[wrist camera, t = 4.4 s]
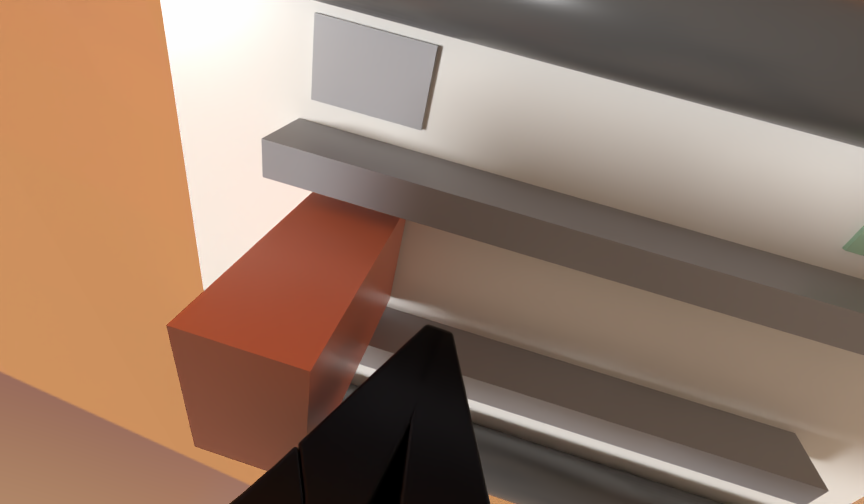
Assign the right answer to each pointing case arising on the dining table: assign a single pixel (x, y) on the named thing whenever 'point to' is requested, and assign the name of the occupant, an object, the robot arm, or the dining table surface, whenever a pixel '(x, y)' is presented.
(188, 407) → the knob
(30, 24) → the dining table surface
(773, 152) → the panel
